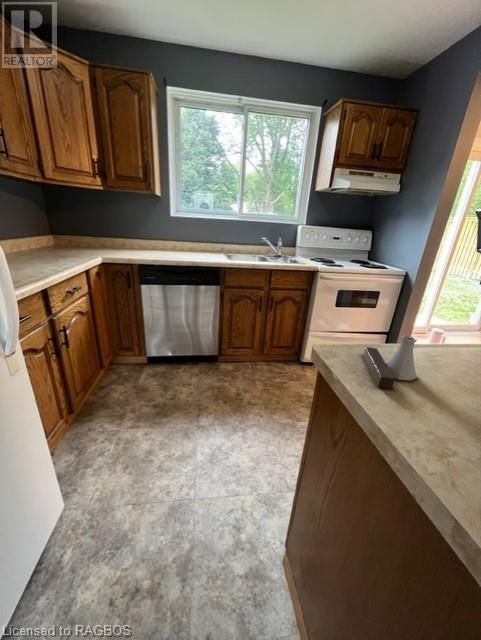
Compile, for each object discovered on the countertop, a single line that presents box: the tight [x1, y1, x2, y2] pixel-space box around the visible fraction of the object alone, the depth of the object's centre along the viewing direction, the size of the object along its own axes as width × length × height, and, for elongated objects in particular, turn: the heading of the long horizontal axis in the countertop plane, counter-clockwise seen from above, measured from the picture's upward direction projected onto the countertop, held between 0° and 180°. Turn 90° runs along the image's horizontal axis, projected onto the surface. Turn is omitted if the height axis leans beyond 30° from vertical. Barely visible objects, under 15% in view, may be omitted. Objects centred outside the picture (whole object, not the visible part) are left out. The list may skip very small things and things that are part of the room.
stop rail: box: [363, 346, 396, 390], centre depth 70 cm, size 3×16×3 cm, turn 168°
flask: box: [385, 335, 418, 381], centre depth 68 cm, size 7×7×10 cm
